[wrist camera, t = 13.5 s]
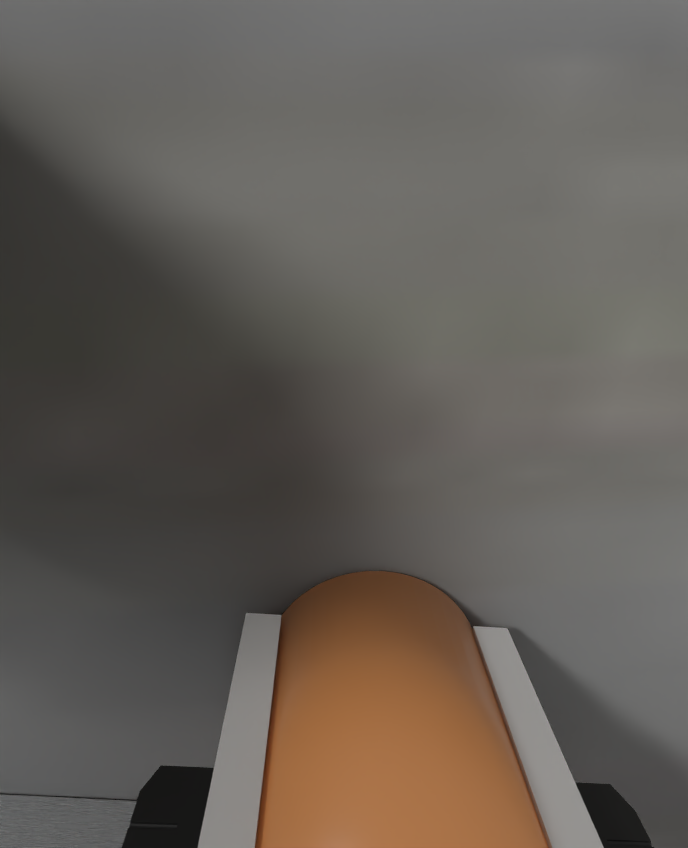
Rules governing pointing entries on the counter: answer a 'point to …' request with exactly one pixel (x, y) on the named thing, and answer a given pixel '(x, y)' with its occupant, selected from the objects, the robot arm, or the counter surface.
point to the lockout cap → (387, 727)
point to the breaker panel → (63, 822)
